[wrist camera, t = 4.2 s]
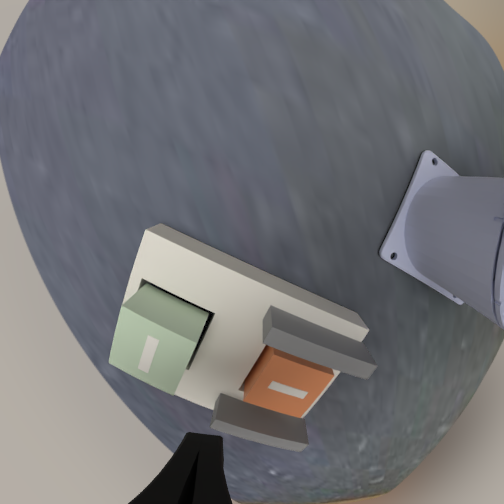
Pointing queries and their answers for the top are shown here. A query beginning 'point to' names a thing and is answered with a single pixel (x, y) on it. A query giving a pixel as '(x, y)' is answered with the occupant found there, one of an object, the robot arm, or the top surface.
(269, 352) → the button
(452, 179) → the robot arm
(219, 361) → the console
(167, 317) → the on button
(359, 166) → the top surface
